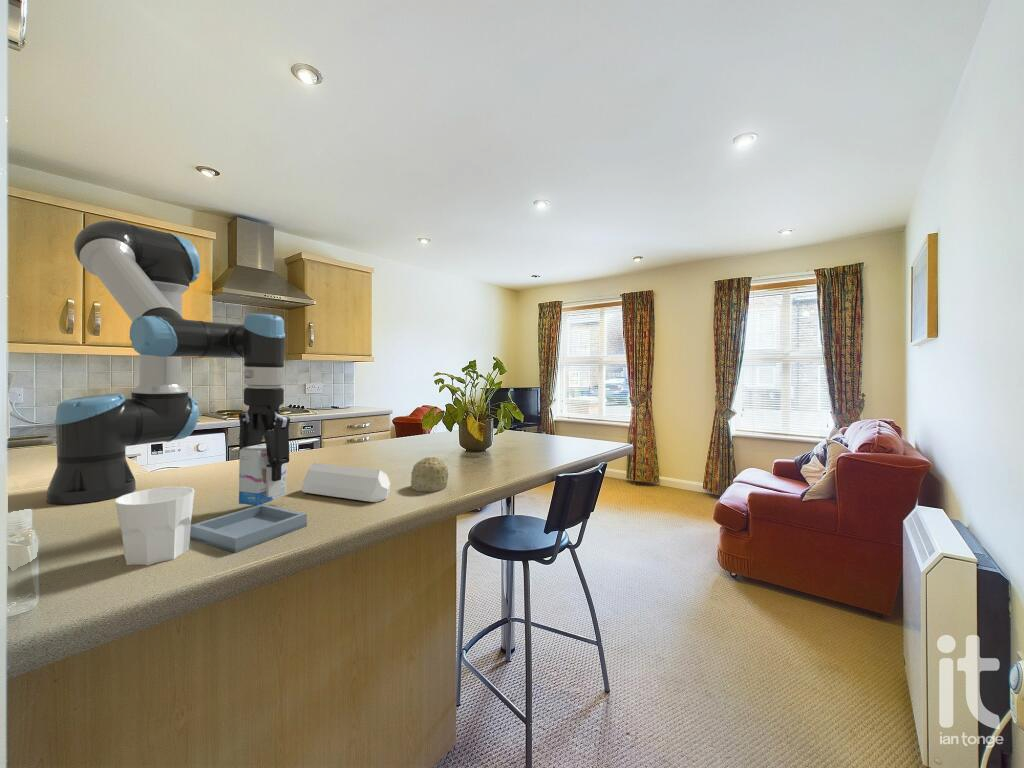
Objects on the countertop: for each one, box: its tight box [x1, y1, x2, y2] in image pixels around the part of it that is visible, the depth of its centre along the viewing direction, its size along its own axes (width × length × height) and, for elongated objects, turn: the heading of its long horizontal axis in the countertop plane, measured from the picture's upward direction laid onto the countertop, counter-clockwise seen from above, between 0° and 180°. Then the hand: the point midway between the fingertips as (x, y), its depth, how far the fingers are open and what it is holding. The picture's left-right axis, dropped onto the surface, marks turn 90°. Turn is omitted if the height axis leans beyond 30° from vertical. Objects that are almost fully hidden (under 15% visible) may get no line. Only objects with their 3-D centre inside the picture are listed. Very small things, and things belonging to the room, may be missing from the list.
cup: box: [114, 486, 195, 566], centre depth 72 cm, size 10×10×10 cm
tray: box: [190, 503, 308, 554], centre depth 82 cm, size 13×14×2 cm
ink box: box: [238, 443, 288, 506], centre depth 96 cm, size 9×5×12 cm, turn 167°
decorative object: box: [410, 456, 449, 493], centre depth 114 cm, size 9×10×10 cm
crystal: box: [301, 462, 392, 503], centre depth 106 cm, size 7×7×24 cm
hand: (263, 492), depth 96 cm, fingers closed on ink box, 6 cm apart
